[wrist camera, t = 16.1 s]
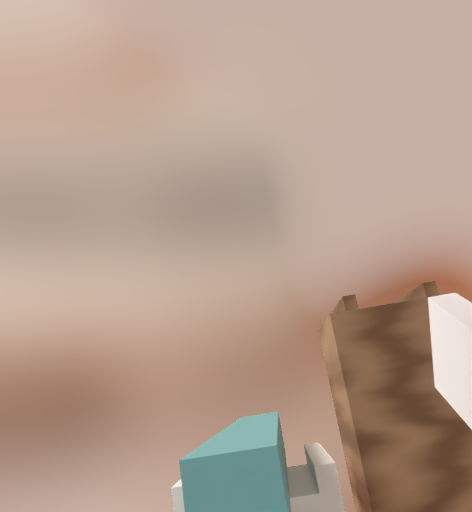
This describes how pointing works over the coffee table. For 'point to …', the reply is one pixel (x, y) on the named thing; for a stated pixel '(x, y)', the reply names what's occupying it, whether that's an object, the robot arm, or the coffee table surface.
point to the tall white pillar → (301, 484)
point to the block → (238, 469)
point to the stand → (395, 409)
